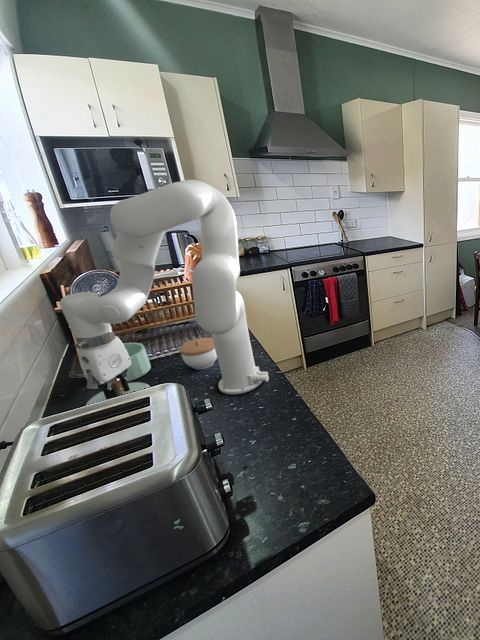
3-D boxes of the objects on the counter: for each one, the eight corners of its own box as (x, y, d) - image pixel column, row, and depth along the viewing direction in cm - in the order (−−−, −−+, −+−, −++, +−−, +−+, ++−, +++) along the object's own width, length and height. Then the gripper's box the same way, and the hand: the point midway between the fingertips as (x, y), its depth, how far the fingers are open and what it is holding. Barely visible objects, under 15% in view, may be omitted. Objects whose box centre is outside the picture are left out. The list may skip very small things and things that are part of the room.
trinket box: (204, 375, 113) (198, 350, 109) (177, 370, 115) (169, 346, 111) (228, 359, 123) (222, 335, 119) (202, 355, 125) (195, 331, 121)
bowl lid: (163, 386, 107) (157, 367, 104) (126, 417, 94) (117, 397, 91) (116, 384, 107) (108, 366, 104) (72, 416, 94) (62, 396, 91)
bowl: (160, 362, 120) (154, 343, 116) (129, 385, 107) (121, 364, 104) (121, 361, 119) (114, 342, 116) (85, 384, 107) (76, 363, 104)
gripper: (81, 354, 85) (107, 413, 92) (133, 325, 100) (152, 379, 107) (51, 353, 85) (79, 413, 92) (107, 324, 100) (128, 378, 107)
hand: (118, 394), depth 100 cm, fingers closed on bowl lid, 3 cm apart
